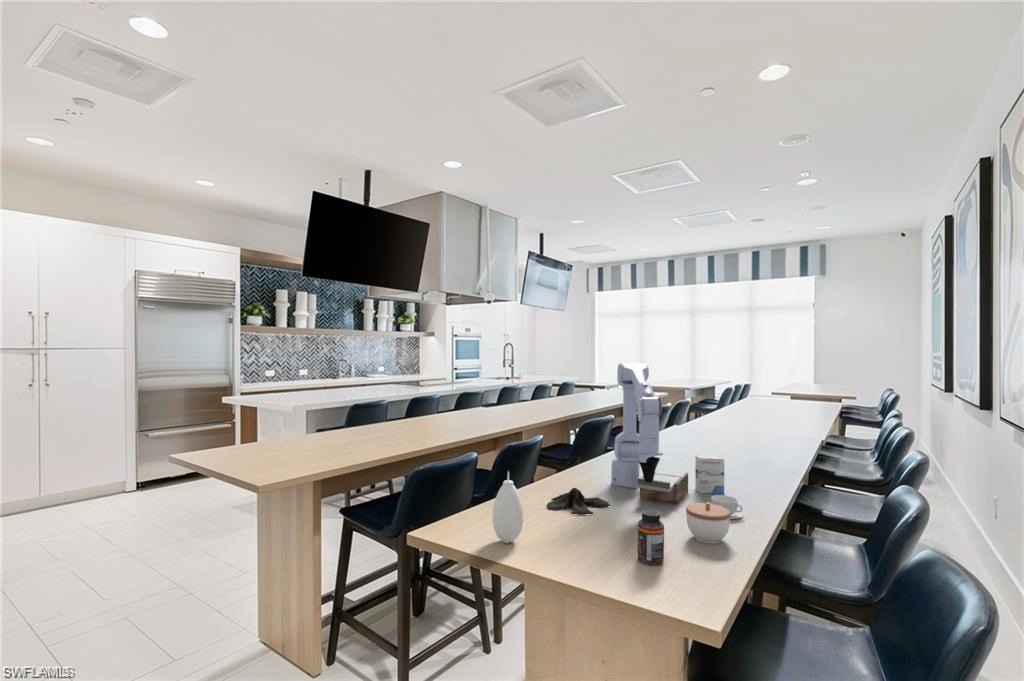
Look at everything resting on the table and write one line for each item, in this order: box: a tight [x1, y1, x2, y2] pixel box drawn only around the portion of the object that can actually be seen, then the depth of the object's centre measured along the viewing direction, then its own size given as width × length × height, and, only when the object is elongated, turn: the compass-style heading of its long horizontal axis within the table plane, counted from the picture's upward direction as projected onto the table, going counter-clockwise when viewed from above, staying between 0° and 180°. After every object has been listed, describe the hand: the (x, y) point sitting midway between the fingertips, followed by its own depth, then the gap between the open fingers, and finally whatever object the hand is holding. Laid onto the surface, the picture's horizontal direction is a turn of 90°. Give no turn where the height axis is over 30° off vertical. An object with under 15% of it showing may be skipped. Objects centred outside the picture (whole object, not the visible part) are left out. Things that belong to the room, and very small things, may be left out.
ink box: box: [694, 455, 725, 495], centre depth 173 cm, size 8×5×12 cm, turn 84°
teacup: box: [710, 494, 744, 520], centre depth 150 cm, size 10×10×5 cm
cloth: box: [546, 487, 612, 516], centre depth 158 cm, size 22×19×6 cm
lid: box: [637, 473, 682, 492], centre depth 163 cm, size 10×16×3 cm, turn 149°
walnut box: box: [638, 472, 689, 506], centre depth 168 cm, size 12×16×6 cm
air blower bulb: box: [492, 470, 524, 543], centre depth 128 cm, size 8×8×18 cm
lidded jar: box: [685, 501, 731, 545], centre depth 131 cm, size 11×11×9 cm
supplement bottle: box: [637, 509, 665, 566], centre depth 118 cm, size 6×6×11 cm
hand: (648, 481), depth 152 cm, fingers closed
